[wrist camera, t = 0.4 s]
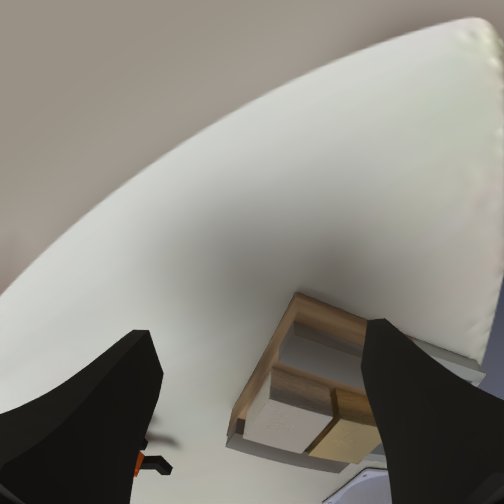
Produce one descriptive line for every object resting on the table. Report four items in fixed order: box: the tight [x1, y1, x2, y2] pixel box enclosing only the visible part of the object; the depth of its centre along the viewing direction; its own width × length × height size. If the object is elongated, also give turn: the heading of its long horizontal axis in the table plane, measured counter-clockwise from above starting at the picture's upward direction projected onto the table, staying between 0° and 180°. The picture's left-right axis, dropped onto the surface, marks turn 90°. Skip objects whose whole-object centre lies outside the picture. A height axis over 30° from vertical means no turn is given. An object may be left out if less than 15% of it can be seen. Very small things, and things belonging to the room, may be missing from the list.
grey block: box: [243, 367, 333, 454], centre depth 17 cm, size 4×4×3 cm
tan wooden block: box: [308, 387, 382, 464], centre depth 18 cm, size 4×4×3 cm
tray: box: [364, 337, 486, 462], centre depth 21 cm, size 12×8×2 cm
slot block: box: [226, 292, 413, 473], centre depth 20 cm, size 12×10×4 cm
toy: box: [134, 438, 173, 477], centre depth 24 cm, size 8×6×15 cm
